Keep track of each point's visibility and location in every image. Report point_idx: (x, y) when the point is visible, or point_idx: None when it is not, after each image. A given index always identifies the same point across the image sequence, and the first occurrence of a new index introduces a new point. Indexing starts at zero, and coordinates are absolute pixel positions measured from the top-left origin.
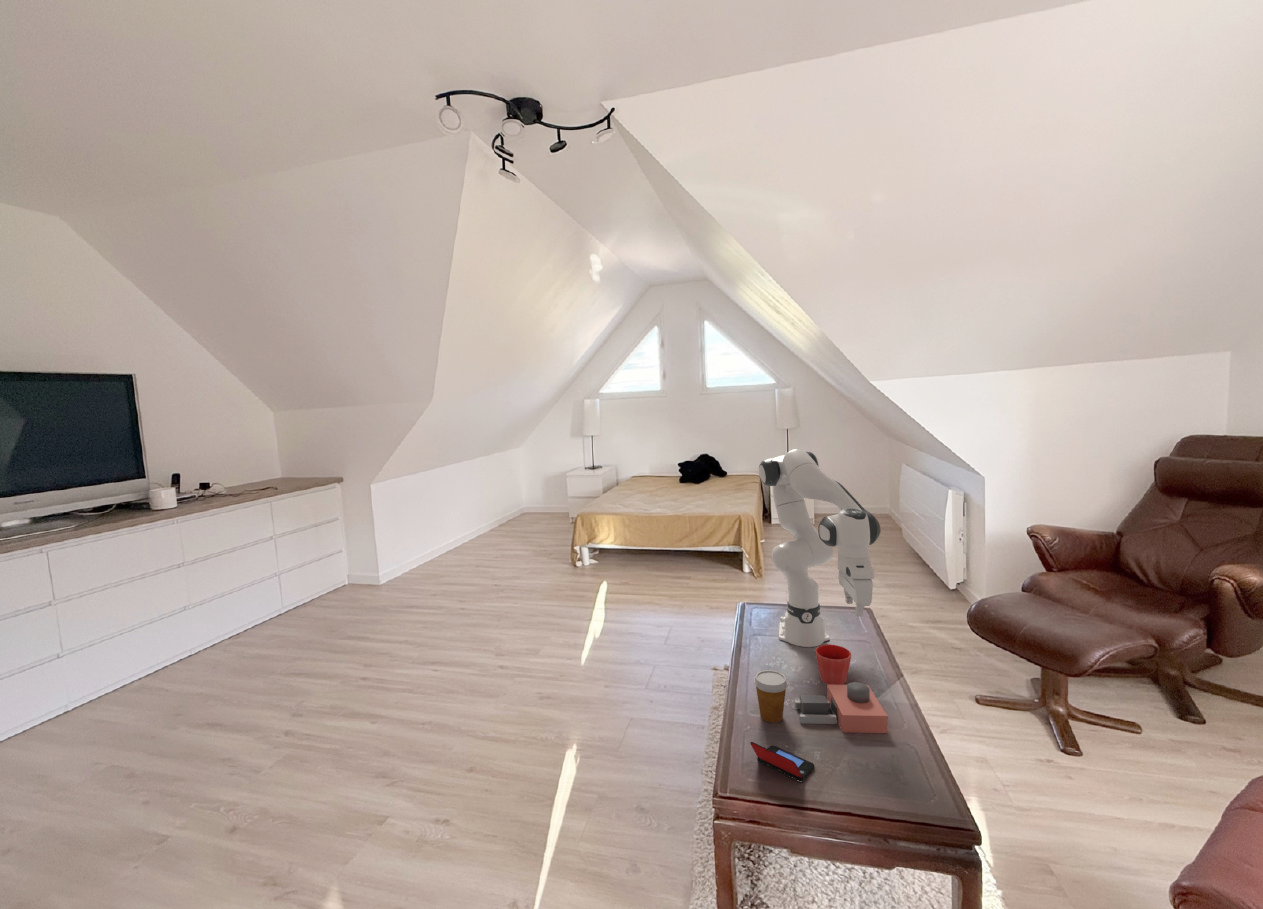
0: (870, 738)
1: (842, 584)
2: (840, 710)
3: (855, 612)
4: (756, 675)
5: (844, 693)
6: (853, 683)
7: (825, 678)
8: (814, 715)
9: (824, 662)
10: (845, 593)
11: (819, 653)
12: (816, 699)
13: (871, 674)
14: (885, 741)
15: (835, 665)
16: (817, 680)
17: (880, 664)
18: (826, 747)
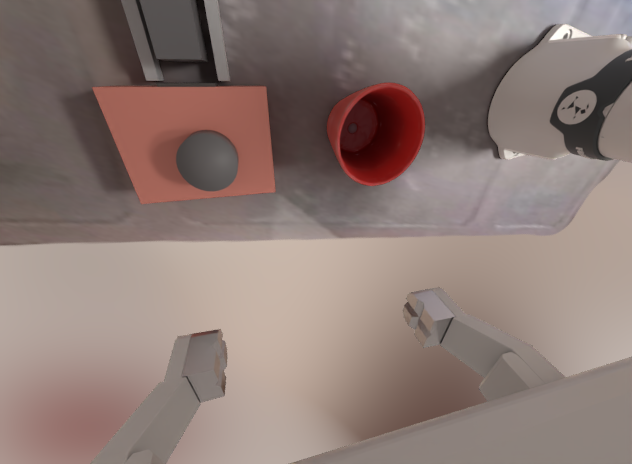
0: (116, 148)
1: (594, 426)
2: (119, 88)
3: (202, 345)
4: None
5: (224, 126)
6: (230, 157)
7: (339, 102)
8: (131, 4)
9: (347, 101)
10: (485, 338)
11: (401, 101)
12: (167, 20)
13: (364, 205)
14: (117, 176)
15: (333, 132)
16: (351, 84)
17: (394, 226)
18: (3, 8)
